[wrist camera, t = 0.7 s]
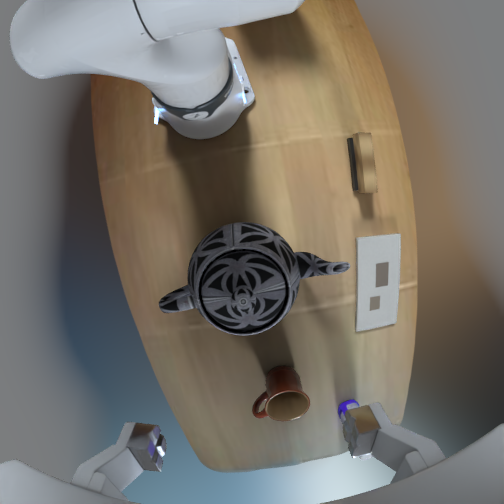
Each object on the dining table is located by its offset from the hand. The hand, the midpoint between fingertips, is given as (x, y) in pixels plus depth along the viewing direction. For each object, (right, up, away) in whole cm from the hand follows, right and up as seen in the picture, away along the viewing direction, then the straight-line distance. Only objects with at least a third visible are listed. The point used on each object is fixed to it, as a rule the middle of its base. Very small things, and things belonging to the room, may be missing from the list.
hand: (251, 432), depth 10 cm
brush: (+20, +24, +38) cm, 50 cm away
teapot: (-1, +4, +42) cm, 42 cm away
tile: (+26, +1, +43) cm, 50 cm away
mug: (+5, -21, +47) cm, 52 cm away
